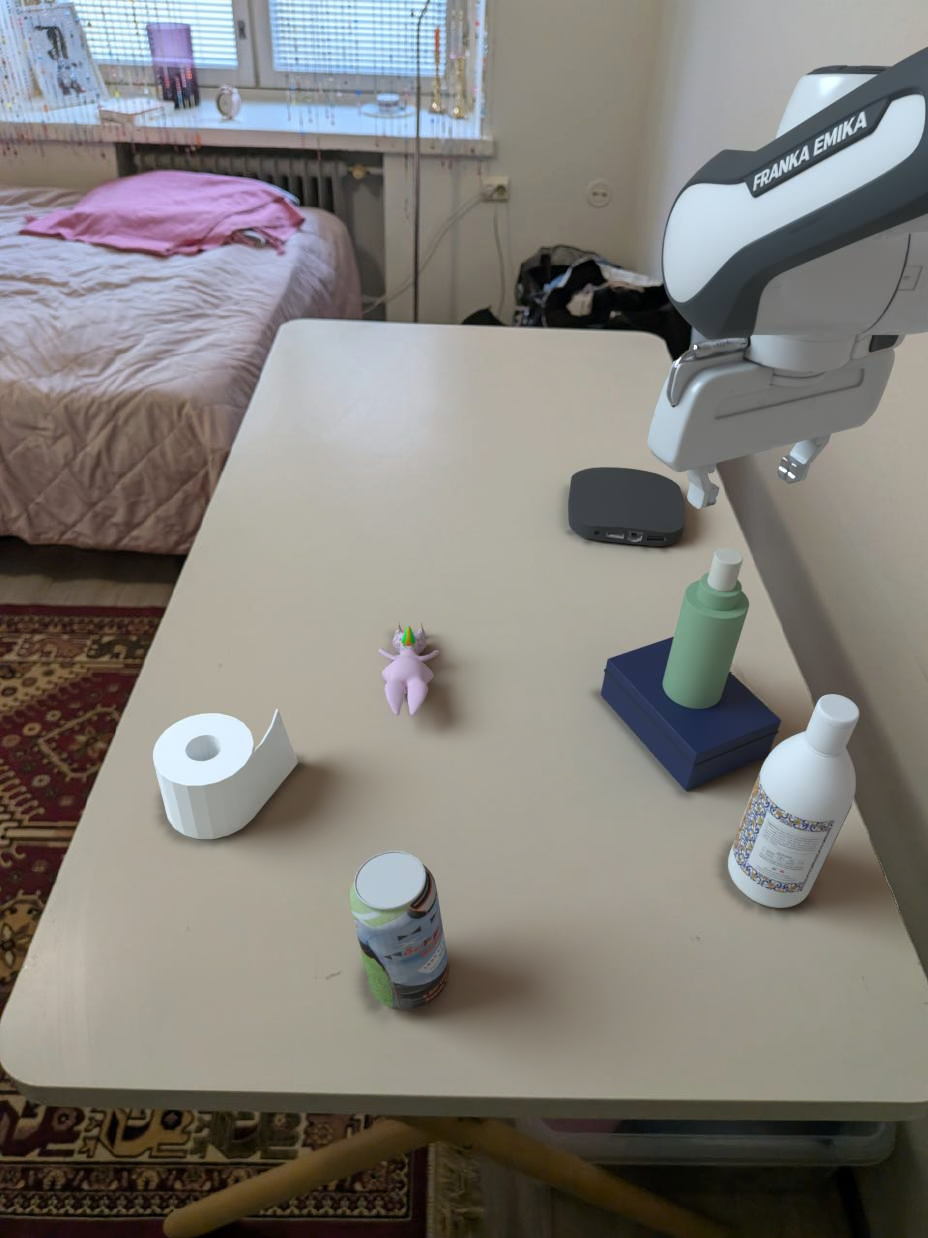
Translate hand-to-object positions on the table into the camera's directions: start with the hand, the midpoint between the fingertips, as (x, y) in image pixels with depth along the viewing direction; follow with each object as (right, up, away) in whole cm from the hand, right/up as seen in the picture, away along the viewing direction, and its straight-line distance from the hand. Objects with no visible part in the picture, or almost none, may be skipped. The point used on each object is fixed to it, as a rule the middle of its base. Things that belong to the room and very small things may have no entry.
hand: (746, 491), depth 75 cm
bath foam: (+3, -32, +4) cm, 32 cm away
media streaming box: (-2, +3, +47) cm, 47 cm away
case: (-1, -21, +17) cm, 27 cm away
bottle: (-1, -17, +14) cm, 22 cm away
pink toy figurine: (-29, -17, +20) cm, 39 cm away
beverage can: (-28, -37, -5) cm, 47 cm away
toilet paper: (-43, -26, +8) cm, 51 cm away
